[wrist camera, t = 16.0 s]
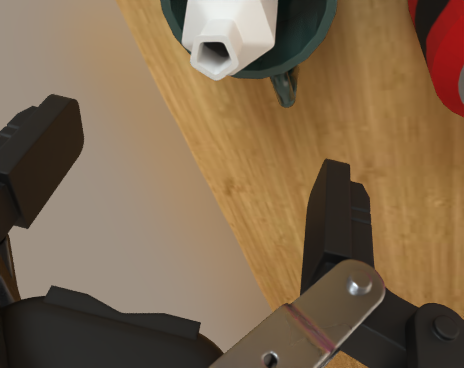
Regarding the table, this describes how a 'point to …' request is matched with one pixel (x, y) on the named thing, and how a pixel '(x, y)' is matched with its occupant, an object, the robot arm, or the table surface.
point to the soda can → (442, 46)
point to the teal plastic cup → (276, 41)
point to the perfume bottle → (228, 34)
